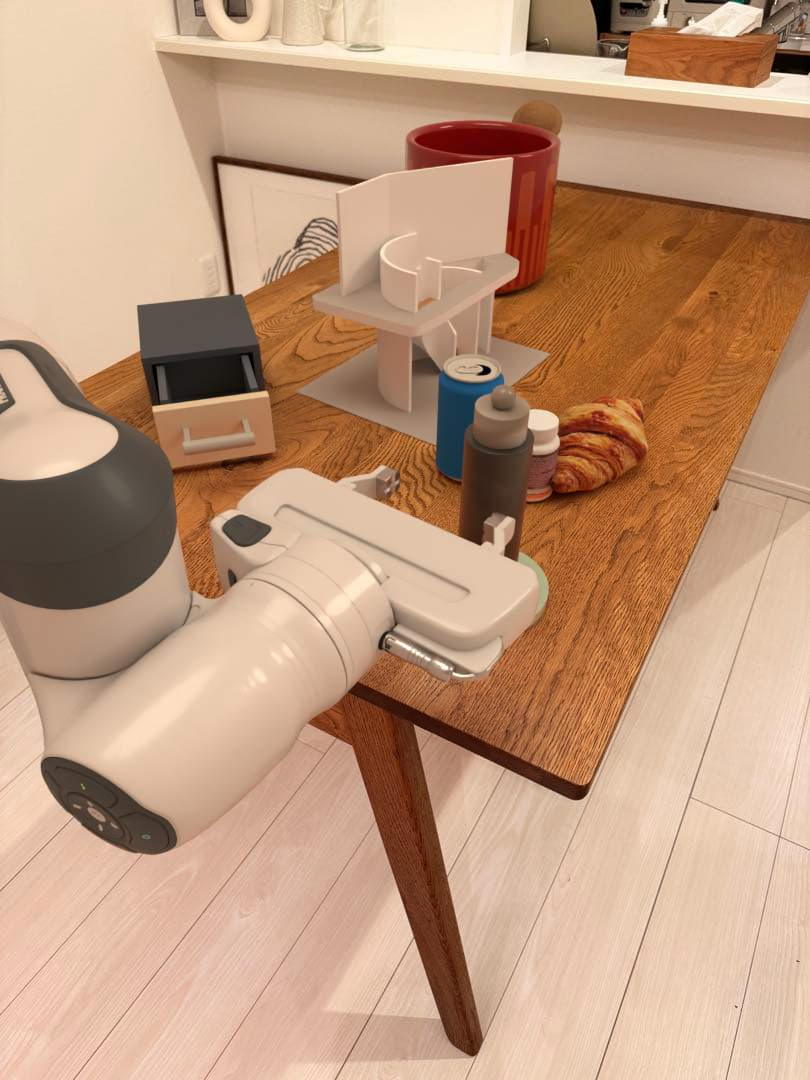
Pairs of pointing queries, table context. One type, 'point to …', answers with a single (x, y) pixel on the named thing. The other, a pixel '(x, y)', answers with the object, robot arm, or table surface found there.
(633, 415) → the croissant
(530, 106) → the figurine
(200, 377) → the drawer
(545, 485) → the pill bottle
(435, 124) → the planter
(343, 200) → the architectural model
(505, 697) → the table surface
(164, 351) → the cabinet
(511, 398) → the pepper mill
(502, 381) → the beverage can
